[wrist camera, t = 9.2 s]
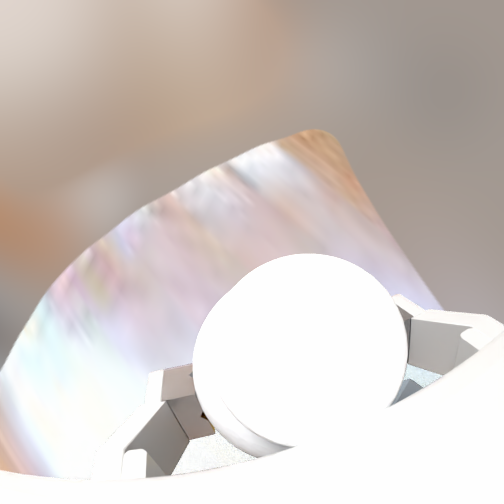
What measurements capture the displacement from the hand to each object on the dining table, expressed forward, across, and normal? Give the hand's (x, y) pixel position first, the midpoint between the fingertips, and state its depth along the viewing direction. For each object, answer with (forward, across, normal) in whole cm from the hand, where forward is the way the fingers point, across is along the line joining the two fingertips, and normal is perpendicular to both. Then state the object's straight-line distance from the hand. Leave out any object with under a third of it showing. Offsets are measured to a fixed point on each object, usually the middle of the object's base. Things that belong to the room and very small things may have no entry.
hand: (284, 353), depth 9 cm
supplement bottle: (+4, 0, +5) cm, 6 cm away
